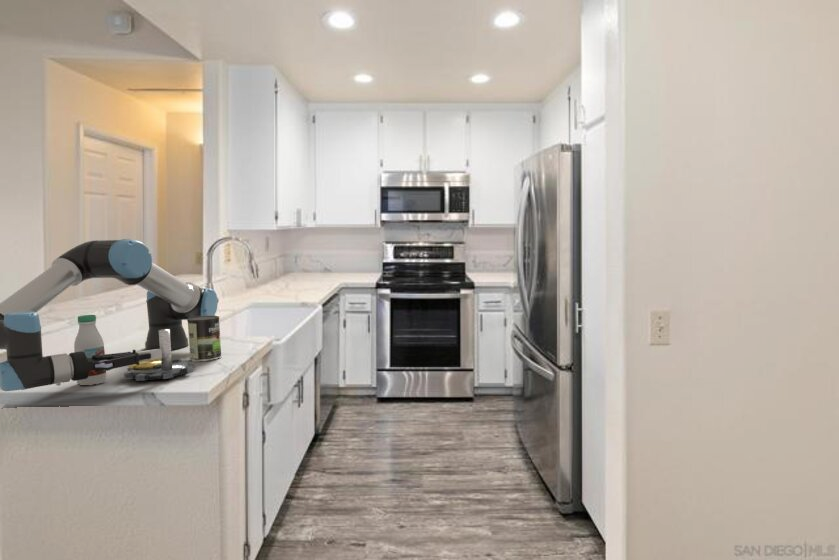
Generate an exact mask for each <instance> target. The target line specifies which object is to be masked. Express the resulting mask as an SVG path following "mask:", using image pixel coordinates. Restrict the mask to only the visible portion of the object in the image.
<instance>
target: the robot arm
mask: <svg viewBox="0 0 839 560" xmlns="http://www.w3.org/2000/svg"><path fill="white" fill-rule="evenodd" d="M91 279H115V280H118V281H119V282H121V283H124V284H125V285H128V286H136V285H137V286H138V287H141V288H142V289H144V290H146V307H147V319H148V331H147V335H146V339H145V340H146V341H145V343H144V347H145V350H142V351H137V349H132V351H126V352H125V351H124V352H117V353H116V352H115V353H108V354H107V353H105V355H93V356H92V358H88V356H87V354H86V353H85V352H84V351H81V352H70V353H64V352H63V353H59V354H53V355H46V356H43V345H42V344H43V342H42V339H43V338H42V325H41V320H40V315H39V313H38V312H39V311H41V309H43V308H44V307H45V306H47V305H48V304H49V303H50V302H52V301H53V300H55V298H57V297H58V296H59V295H61V294H62V293H63V292H65V291H66V290H67V289H69V288H70V287H76V286H78V285H79V284H82V282H84V281H86V280H91ZM217 310H218V295H217V293H216V290H214V289H213V288H209V287H207V288H202V287H200V286H198V285H196V283H193V282H190V281H189V282H184V281H183V280H181V279H179V278H178V277H176V276H175V275H173V274H171V273H170V272H168V271H167V270H165V269H163V268H162V267H160V266H158V265H157V264H156V263H154V262H153V258H152V254H151V253H150V249H149V247H148V246H147V245H146V244H145V243H143V242H142V241H140V240H137V239H132V238H122V239H116V240H115V239H113V240H112V239H108V240H106V239H105V240H103V239H102V240H101V239H100V240H90V241H85V242H83V243H80V244H78V245H76V246H75V247H73V248H70V249H69V250H67V251H66V252H64V253H62V254H61V255H60V256H58V257H57V258H55V259H54V260H53V261H52V262H51V266H50V267H48V269H46V270H45V271H43V272H42V273H40V274H39V275H38V276H36V277H35V278H33V279H32V280H31V281H29V282H28V283H26V284H25V285H23V287H21V288H19V289H18V290H17V291H16V292H13V294H11V295H9V296H8V297H7V298H5V300H3V301H1V302H0V350H5V351H6V360H5V361H2V362H0V389H1V390H2V391H4V392H12V391H13V392H14V391H25V390H29V389H34V388H38V387H39V388H40V387H45V386H50V385H56V386H61V384H62V383H69V382H70V381H73V382H75V381H76V382H77V380H83V379H87V378H88V376H89V372H90V370H96V371H103V370H104V369H105V370H106V372H108V371H110V370H113V369H117V368H123V367H128V366H130V365H133V364H137V365H139V362H142V361H148V360H154V359H161V358H162V349H160V342H159V330H161V329H170V340H171V351H173V350H178V349H183V348H186V347H188V346H189V337H187V334H186V332H185V329H184V326H183V320H184V321H187V319H189V318H192V317H199V316H216V313H217ZM172 349H173V350H172ZM136 351H137V352H136Z"/></svg>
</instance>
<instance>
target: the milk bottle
mask: <svg viewBox="0 0 839 560" xmlns="http://www.w3.org/2000/svg"><path fill="white" fill-rule="evenodd" d="M77 322H78V325H79V327H78V332H77V335H76V336H75V340H74V343H73V345H74V346H73V349H74V352H81V351H84V352H85V353H86V354H87V356H88V358H92V356H93V355H105V354H106V353H105V351H106V350H105V343H104V339H103V337H102V335H101V334H100V332H99V330H98V328H97V325H96V323H97V316H96V315H95V314H83V315H78V316H77ZM107 377H108V376H107V370H105V369H104V370H103V371H96V370H90V372H89V376H88V378H87V379H83V380H77V381H76V383H77V385H78V384H80V385H89V386H94V385H93V384H96V385H100V384H99V383H101V384H103V382H104V383H105V381H106V382H107V380H108V378H107ZM80 385H79V386H80Z"/></svg>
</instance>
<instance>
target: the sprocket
mask: <svg viewBox="0 0 839 560" xmlns="http://www.w3.org/2000/svg"><path fill="white" fill-rule="evenodd" d="M159 342H160V349H162V358H161V359H154V360H148V361H142V362H139V365H137V364H133V365H129V367H127V371H123V378H124V379H125V380H126V379H127V380H128V379H133V380H135V381H137V382H139V381H140V382H143V381H144V382H145V381H149V380H161V379H162V380H166V379H171V378H172V379H173V378H174V377H177V376H180V375H183V374H184V375H188V374H190V373H192V372H193V369H195V361H191V360H189V361H184V360H182V359H173V356H172V355H173V354H172V350H171V340H170V329H161V330H159Z"/></svg>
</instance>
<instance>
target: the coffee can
mask: <svg viewBox="0 0 839 560" xmlns="http://www.w3.org/2000/svg"><path fill="white" fill-rule="evenodd" d="M186 321H187V328H188V346H189V361H191V360H192V362H195V361H203V362H208V361H207V360H212V361H214V360H213V359H216V360H219V359H221V358H222V357H223V356H222V346H221V344H222V343H221V331H220V330H221V328H220V316H218V315H214V316H199V317H192V318H189V319H187V320H186ZM220 357H221V358H220ZM218 358H219V359H218Z"/></svg>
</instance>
